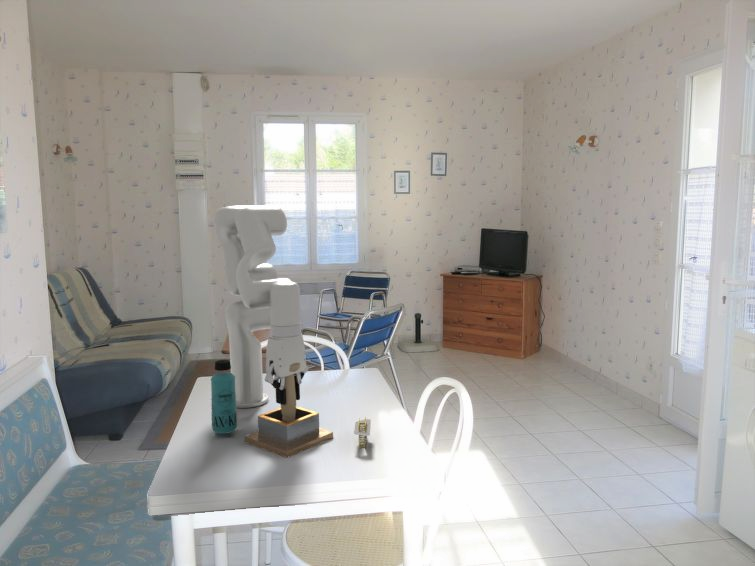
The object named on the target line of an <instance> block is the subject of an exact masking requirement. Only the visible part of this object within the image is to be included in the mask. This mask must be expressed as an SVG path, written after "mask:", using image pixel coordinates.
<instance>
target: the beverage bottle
mask: <svg viewBox="0 0 755 566" xmlns="http://www.w3.org/2000/svg"><path fill="white" fill-rule="evenodd" d="M214 370H215V371H218V372H216V373H214V374H213V375H212V376H211V377H210V385H211V386H210V387H211V388H210V391H211V394H210V395H211V398H210V400H211V404H210V407H211V428H212V430H213V433H216V434H229V433H232V432H234V431H236V429H237V425H238V417H237V409H238V408H237V407H236V405H237V404H236V391H235V376H234V375H233V374H232V373H231V371H229V370H231V364H230V360H229V359H219V360H216V361H214Z"/></svg>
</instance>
